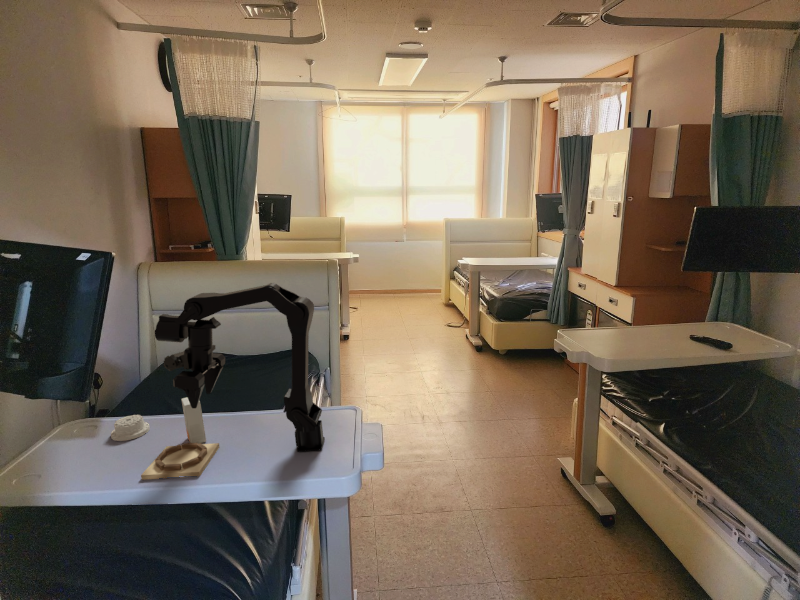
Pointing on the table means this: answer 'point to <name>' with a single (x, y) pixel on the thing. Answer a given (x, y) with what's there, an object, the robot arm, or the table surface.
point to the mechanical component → (129, 428)
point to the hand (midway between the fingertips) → (201, 400)
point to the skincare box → (193, 422)
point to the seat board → (181, 461)
